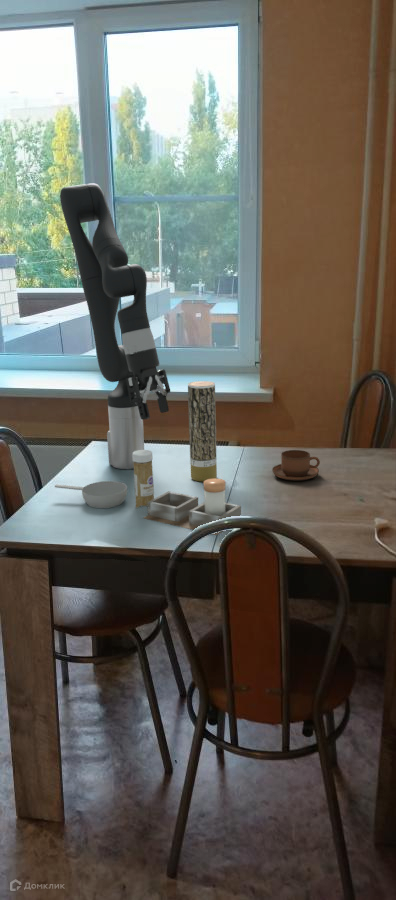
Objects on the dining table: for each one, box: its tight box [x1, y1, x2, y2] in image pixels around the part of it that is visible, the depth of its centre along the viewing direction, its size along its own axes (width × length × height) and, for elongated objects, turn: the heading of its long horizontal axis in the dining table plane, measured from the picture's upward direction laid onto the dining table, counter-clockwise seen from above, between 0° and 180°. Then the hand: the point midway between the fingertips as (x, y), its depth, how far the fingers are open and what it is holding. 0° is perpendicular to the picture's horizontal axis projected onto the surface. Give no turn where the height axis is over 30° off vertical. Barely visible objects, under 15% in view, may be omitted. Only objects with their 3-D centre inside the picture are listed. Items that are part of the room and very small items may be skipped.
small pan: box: [54, 480, 128, 509], centre depth 166 cm, size 11×18×4 cm, turn 78°
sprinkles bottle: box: [132, 449, 155, 509], centre depth 159 cm, size 5×5×13 cm
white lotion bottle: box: [203, 477, 226, 516], centre depth 147 cm, size 5×5×9 cm
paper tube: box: [187, 380, 218, 483], centre depth 176 cm, size 7×7×25 cm
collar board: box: [143, 490, 242, 536], centre depth 151 cm, size 19×12×4 cm, turn 57°
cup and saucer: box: [271, 449, 321, 481], centre depth 179 cm, size 12×12×6 cm
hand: (155, 415), depth 168 cm, fingers open, 8 cm apart
